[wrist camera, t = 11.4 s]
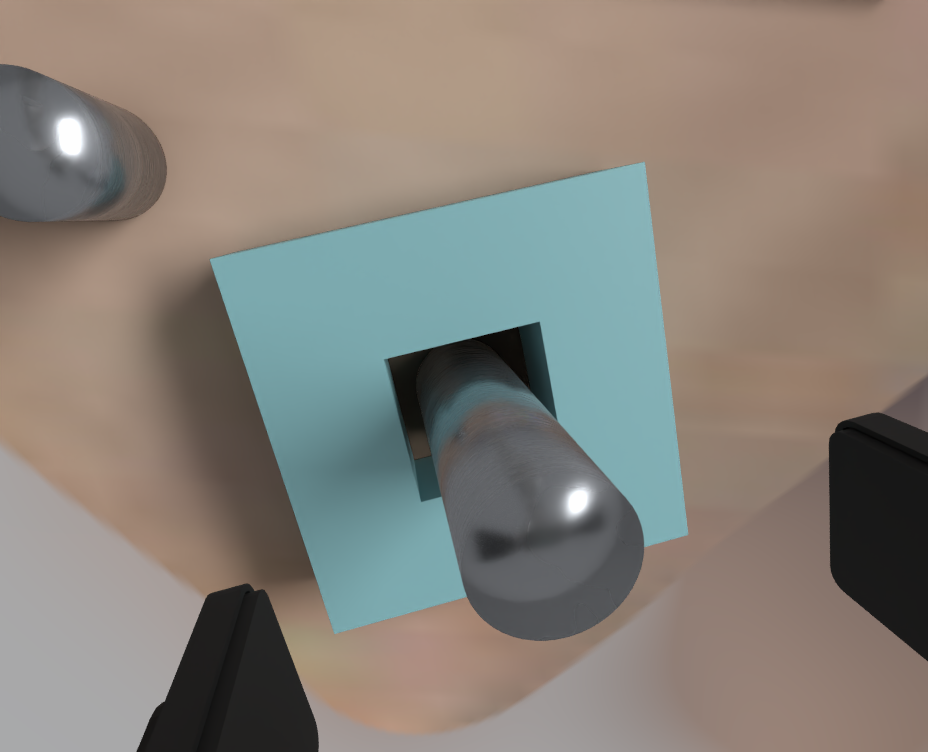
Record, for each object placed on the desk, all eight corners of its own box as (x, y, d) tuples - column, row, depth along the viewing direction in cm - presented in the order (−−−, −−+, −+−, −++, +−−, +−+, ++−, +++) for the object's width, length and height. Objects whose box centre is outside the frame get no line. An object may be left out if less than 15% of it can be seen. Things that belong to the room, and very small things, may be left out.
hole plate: (236, 251, 20) (209, 259, 17) (601, 170, 21) (644, 161, 18) (339, 575, 24) (334, 634, 20) (645, 491, 25) (687, 534, 22)
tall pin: (406, 350, 22) (442, 501, 10) (497, 328, 22) (631, 451, 11) (427, 437, 23) (481, 661, 11) (515, 415, 23) (654, 612, 12)
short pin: (27, 116, 18) (-95, 80, 13) (143, 92, 18) (63, 50, 14) (73, 230, 19) (-26, 236, 14) (182, 207, 20) (120, 204, 15)
